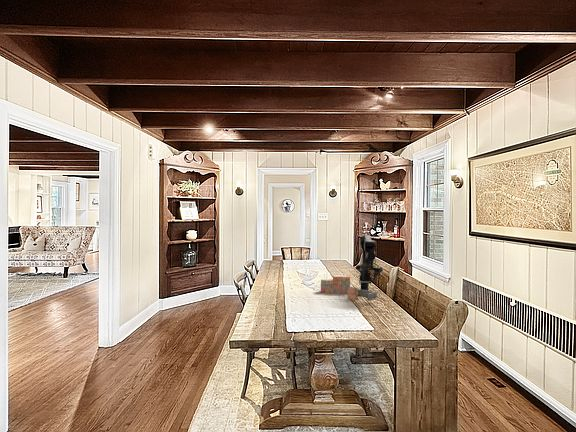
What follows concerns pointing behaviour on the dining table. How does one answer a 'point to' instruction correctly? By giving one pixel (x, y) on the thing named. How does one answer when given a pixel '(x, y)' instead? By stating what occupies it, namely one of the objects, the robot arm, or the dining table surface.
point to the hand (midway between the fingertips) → (368, 280)
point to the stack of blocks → (335, 284)
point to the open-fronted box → (367, 294)
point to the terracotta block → (353, 293)
